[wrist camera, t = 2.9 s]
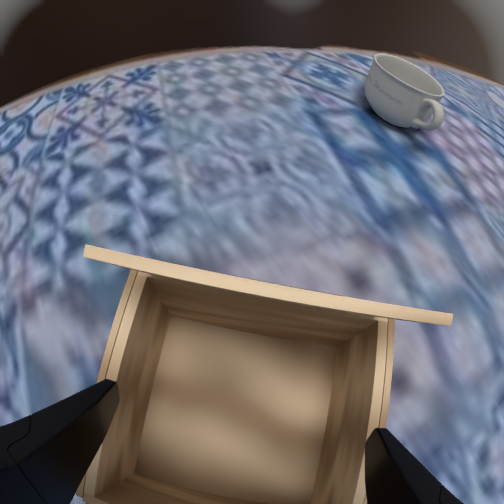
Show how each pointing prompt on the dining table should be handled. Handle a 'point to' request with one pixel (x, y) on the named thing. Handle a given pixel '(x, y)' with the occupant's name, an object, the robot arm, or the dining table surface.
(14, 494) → the robot arm
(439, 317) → the flap
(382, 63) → the teacup
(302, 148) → the dining table surface
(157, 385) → the tan wooden open box
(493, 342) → the dining table surface
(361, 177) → the dining table surface
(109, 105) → the dining table surface
